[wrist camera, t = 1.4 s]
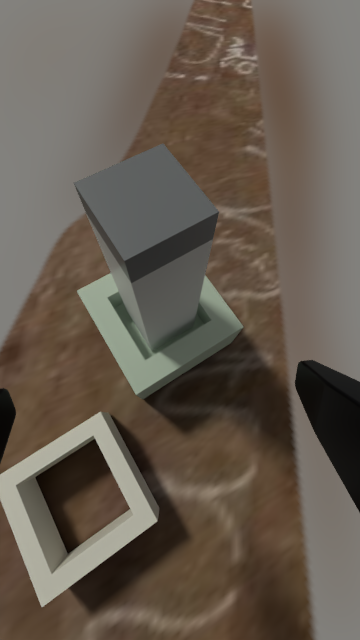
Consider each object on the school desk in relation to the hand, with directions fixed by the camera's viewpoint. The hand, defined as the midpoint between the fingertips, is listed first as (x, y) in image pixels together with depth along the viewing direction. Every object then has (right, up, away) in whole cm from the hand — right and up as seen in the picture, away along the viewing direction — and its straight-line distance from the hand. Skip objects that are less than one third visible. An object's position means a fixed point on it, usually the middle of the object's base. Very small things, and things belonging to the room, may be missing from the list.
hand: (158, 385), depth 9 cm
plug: (-1, +2, +12) cm, 12 cm away
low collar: (-5, -9, +10) cm, 15 cm away
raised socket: (-1, +1, +14) cm, 14 cm away
